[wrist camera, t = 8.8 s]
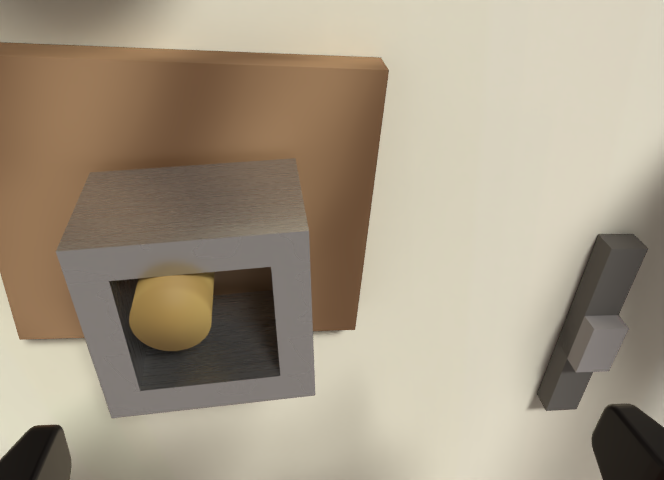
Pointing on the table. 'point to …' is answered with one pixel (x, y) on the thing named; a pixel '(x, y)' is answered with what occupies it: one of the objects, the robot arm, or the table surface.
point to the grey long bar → (592, 321)
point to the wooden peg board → (181, 150)
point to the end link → (189, 258)
